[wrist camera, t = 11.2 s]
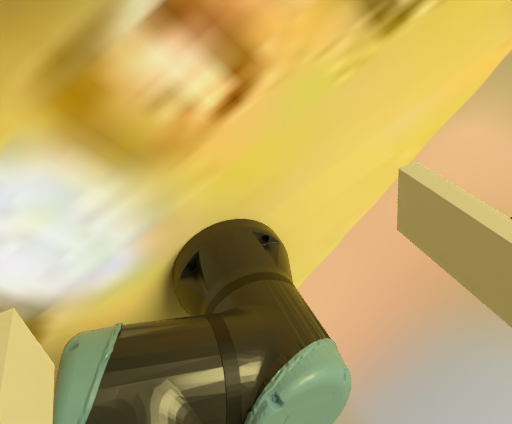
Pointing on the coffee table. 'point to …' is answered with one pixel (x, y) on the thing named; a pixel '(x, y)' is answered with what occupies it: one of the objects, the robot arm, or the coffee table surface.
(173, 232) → the coffee table surface
